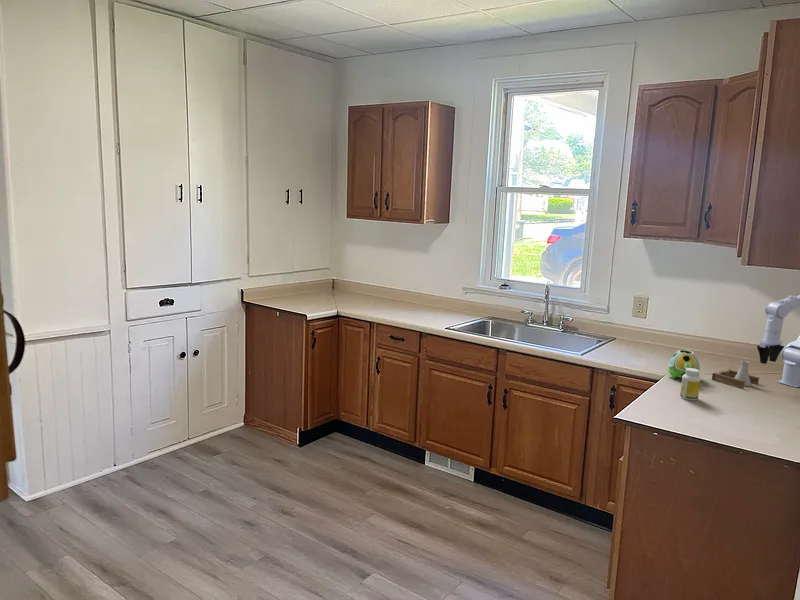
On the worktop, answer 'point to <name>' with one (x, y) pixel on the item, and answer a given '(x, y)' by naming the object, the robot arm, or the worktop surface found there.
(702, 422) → the worktop surface
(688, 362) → the turtle holder
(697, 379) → the pill bottle
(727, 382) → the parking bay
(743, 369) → the flask
